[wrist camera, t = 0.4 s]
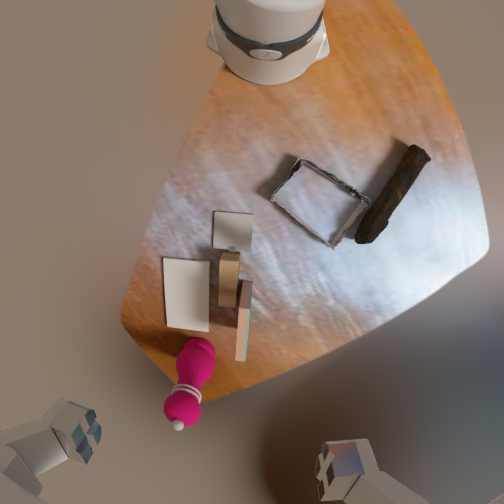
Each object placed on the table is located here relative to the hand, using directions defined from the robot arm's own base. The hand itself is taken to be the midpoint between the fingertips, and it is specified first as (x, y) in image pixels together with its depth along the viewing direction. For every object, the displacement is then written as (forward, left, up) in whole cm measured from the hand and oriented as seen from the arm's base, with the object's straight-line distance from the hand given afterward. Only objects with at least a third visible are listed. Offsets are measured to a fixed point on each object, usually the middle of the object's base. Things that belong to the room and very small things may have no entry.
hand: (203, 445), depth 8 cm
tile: (+17, 0, -39) cm, 43 cm away
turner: (+8, -3, -39) cm, 40 cm away
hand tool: (-5, +22, -39) cm, 45 cm away
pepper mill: (+28, -8, -39) cm, 49 cm away
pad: (+16, -10, -39) cm, 43 cm away
